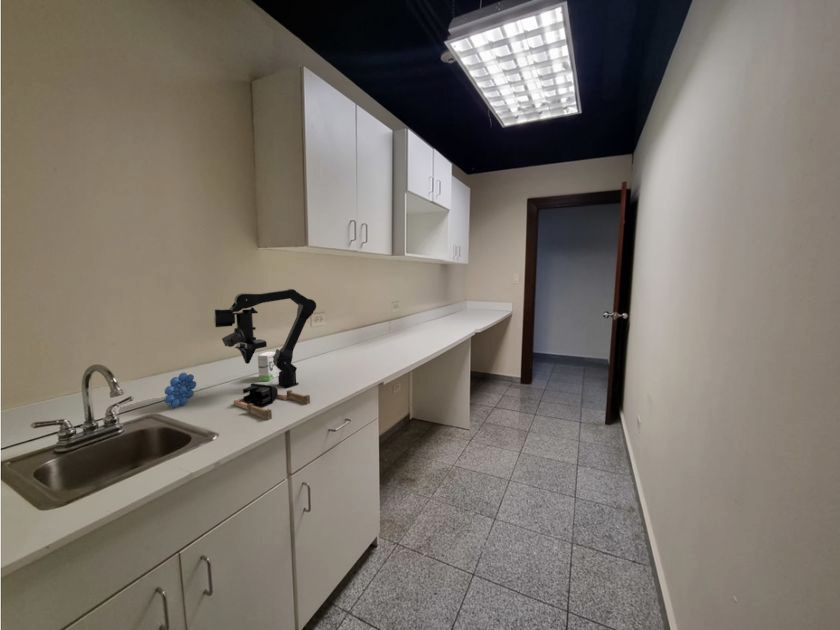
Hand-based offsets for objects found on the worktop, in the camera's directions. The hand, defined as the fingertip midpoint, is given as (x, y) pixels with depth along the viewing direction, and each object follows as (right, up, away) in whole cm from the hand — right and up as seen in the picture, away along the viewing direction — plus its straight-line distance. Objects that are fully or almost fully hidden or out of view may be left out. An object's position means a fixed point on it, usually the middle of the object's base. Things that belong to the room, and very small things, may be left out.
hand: (247, 363), depth 139 cm
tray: (+10, -13, -9) cm, 19 cm away
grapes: (-19, -14, -12) cm, 26 cm away
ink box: (0, -10, +20) cm, 23 cm away
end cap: (+10, -14, -10) cm, 19 cm away
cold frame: (+19, -14, -15) cm, 28 cm away
